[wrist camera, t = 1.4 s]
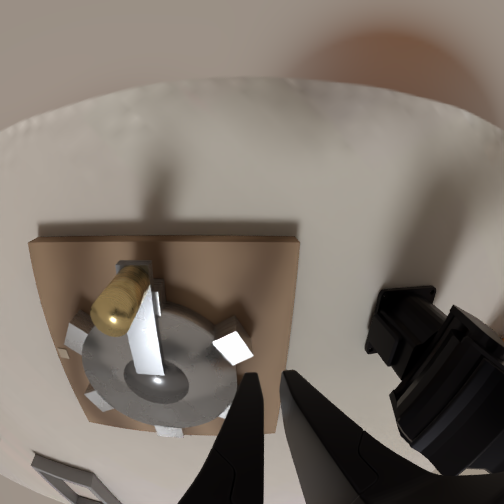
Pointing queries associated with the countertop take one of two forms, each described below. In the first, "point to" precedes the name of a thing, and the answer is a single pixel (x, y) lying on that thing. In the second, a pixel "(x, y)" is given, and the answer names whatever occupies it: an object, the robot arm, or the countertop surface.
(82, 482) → the grey frame
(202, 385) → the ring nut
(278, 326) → the walnut base
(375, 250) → the countertop surface
